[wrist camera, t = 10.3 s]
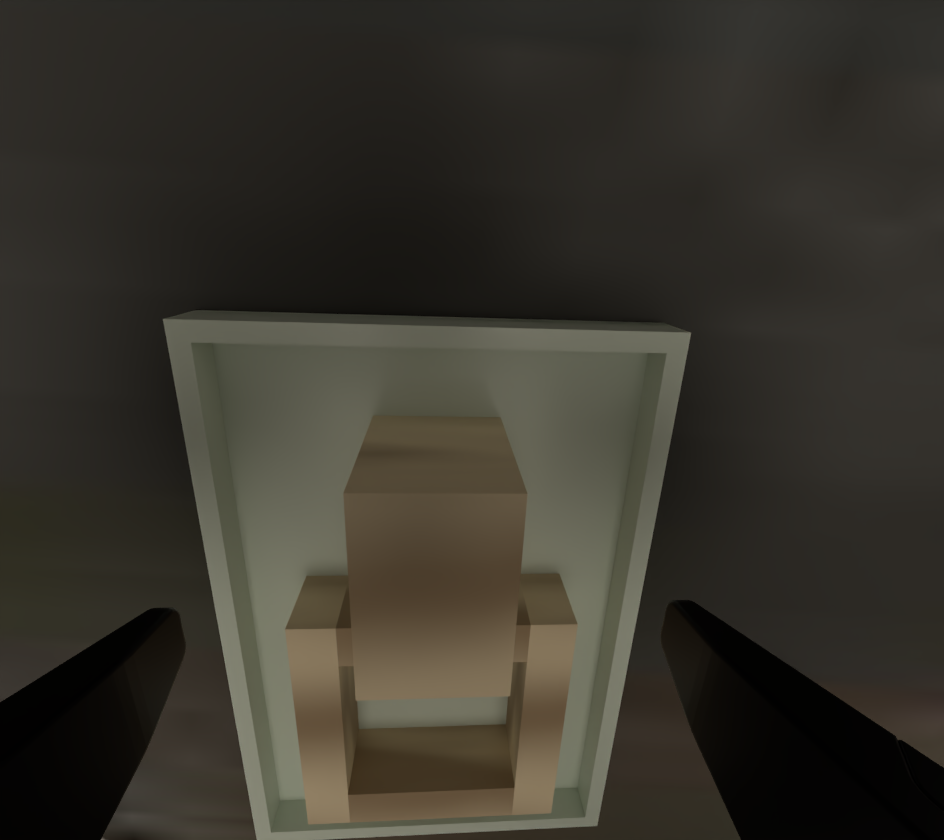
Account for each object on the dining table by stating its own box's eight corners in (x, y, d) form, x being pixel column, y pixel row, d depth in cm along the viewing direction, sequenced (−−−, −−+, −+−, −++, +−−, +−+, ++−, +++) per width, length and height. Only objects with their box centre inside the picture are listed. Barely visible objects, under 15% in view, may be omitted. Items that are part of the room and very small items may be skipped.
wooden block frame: (538, 748, 21) (567, 896, 16) (323, 756, 20) (288, 913, 15) (577, 418, 16) (637, 493, 11) (291, 414, 15) (222, 493, 10)
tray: (585, 782, 22) (597, 825, 21) (271, 795, 21) (257, 842, 20) (663, 322, 15) (690, 332, 14) (195, 310, 14) (162, 318, 13)
